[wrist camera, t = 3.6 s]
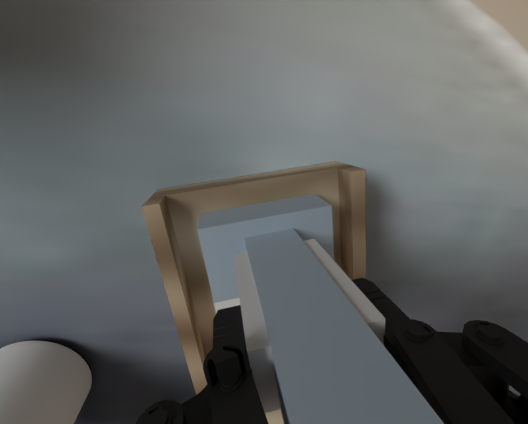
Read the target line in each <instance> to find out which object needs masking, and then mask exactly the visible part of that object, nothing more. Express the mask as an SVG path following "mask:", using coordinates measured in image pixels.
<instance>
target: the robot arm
mask: <svg viewBox="0 0 528 424" xmlns="http://www.w3.org/2000/svg"><path fill="white" fill-rule="evenodd" d="M303 242H304V243H305V244H306V246H307V247H308V248H309V250H310V251H311V252H312V253H313V255H314V256H315V257H316V259H317V260H318V261H319V262H320V264H321V265H322V266H323V268H324V269H325V270H326V272H327V273H328V274H329V275H330V277H331V278H332V279H333V281H334V282H335V283H336V284H337V286H338V287H339V288H340V290H341V291H342V292H343V294H344V295H345V296H346V297H347V299H348V300H349V301H350V303H351V304H352V305H353V306H354V308H355V309H356V310H357V312H358V313H359V314H360V316H361V317H362V318H363V319H364V321H365V322H366V323H367V325H368V326H369V327H370V328H371V330H372V331H373V332H374V334H375V335H376V336H377V338H378V339H379V340H380V341H381V343H382V344H383V345H384V347H385V348H386V349H387V350H388V352H389V353H390V354H391V356H392V357H393V358H394V360H395V361H396V362H397V363H398V365H399V366H400V367H401V369H402V370H403V371H404V372H405V374H406V375H407V376H408V378H409V379H410V380H411V382H412V383H413V384H414V385H415V387H416V388H417V389H418V391H419V392H420V393H421V394H422V396H423V397H424V398H425V400H426V401H427V402H428V403H429V405H430V406H431V407H432V409H433V410H434V411H435V413H436V414H437V415H438V416H439V418H440V419H441V420H442V422H443V423H444V424H528V343H527V342H526V341H524V340H522V339H521V338H519V337H518V336H516V335H514V334H513V333H511V332H510V331H508V330H506V329H505V328H503V327H501V326H499V325H497V324H494V323H490V322H487V321H480V320H474V321H469V322H467V323H466V324H464V329H463V333H453V332H436V331H435V330H434V329H433V328H432V327H431V326H429V325H427V324H425V323H423V322H421V321H417V320H411V319H409V318H408V317H407V316H406V315H405V314H404V313H403V312H402V311H401V310H400V309H399V308H398V307H397V306H396V305H395V304H394V303H393V302H392V301H391V300H390V299H389V298H388V297H386V295H385V294H384V293H383V292H382V291H380V289H379V288H378V287H377V286H376V285H375V284H374V283H373V282H371V281H369V280H367V279H365V278H363V277H362V278H358V279H353V280H351V279H350V278H349V277H348V276H347V275H346V274H345V273H344V271H343V270H342V269H341V268H340V267H339V266H338V265H337V264H336V262H335V261H334V260H333V259H332V258H331V257H330V256H329V255H328V253H327V252H326V251H325V250H324V249H323V248H322V247H321V246H320V245H319V243H318V242H317V241H316V240H315V239H310V240H305V241H303ZM233 255H234V262H235V269H236V277H237V284H238V291H239V298H240V305H238V306H233V307H229V308H224V309H220V310H218V311H217V313H216V315H215V317H214V319H213V349H212V350H211V351H210V352H209V353H208V354H207V356H206V358H205V359H204V363H203V371H204V374H205V378H206V382H207V385H206V387H205V388H204V389H203V390H202V391H201V392H200V393H198V394H197V395H196V396H194V397H193V398H191V399H189V400H187V401H186V402H184V403H182V404H181V405H180V403H178V402H176V401H175V400H163V401H160V402H157V403H155V404H154V405H152V406H151V407H149V408H148V409H146V411H145V412H144V413H143V414H142V415H141V416H140V417H139V419H138V421H137V422H136V424H268V421H267V418H266V415H265V413H268V412H272V411H275V410H279V409H281V408H280V401H279V395H278V388H277V382H276V375H275V368H274V362H273V355H272V349H271V344H270V340H269V336H268V332H267V328H266V324H265V320H264V316H263V312H262V308H261V304H260V300H259V296H258V292H257V288H256V284H255V280H254V277H253V273H252V269H251V265H250V261H249V257H248V253H247V252H243V253H238V254H233ZM509 385H510V386H512V387H513V388H514V389H515V390H517V391H518V392H519V393H521V395H520V396H518V395H515V394H514V393H512V392H511V391H510V390H509Z"/></svg>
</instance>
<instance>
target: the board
mask: <svg viewBox="0 0 528 424" xmlns="http://www.w3.org/2000/svg"><path fill="white" fill-rule="evenodd" d="M310 194H315V195H317V196H318V197H320V198H321V199H323V200H324V201H326V202H327V203H329V204H330V205H332V224H333V245H334V261H335V262H336V264H337V265H338V266H339V267H340V268H341V269H342V270H343V271H344V273H345V274H346V275H347V276H348V277H349V278H350V279H351V280H353V279H358V278H362V277H363V278H365V279H366V170H365V169H362V168H358V167H354V166H351V165H347V164H343V163H340V162H336V161H335V162H329V163H323V164H317V165H310V166H304V167H298V168H291V169H285V170H279V171H273V172H266V173H260V174H254V175H247V176H241V177H235V178H229V179H222V180H216V181H210V182H203V183H197V184H191V185H185V186H178V187H172V188H166V189H159V190H157V191H156V192H155V193H154V194H153V195H152V196H151V197H150V198H149V199H148V200H147V201H146V203H145V204H144V205H143V206H142V210H143V213H144V217H145V220H146V223H147V227H148V230H149V234H150V237H151V241H152V244H153V248H154V251H155V254H156V258H157V261H158V265H159V268H160V272H161V275H162V279H163V282H164V285H165V289H166V292H167V296H168V299H169V303H170V306H171V310H172V313H173V316H174V320H175V323H176V327H177V330H178V334H179V337H180V341H181V344H182V347H183V351H184V354H185V358H186V361H187V365H188V368H189V372H190V375H191V378H192V382H193V385H194V389H195V392H196V395H197V394H198V393H200V392H201V391H202V390H203V389H204V388H205V387H206V385H207V382H206V378H205V374H204V371H203V363H204V359H205V358H206V356H207V354H208V353H209V352H210V351H211V350H212V349H213V319H214V317H215V315H216V310H215V305H214V301H213V297H212V292H211V288H210V283H209V279H208V274H207V270H206V266H205V261H204V257H203V252H202V248H201V243H200V239H199V235H198V230H197V229H198V223H199V218H200V213H206V212H212V211H218V210H224V209H229V208H235V207H241V206H247V205H252V204H258V203H264V202H270V201H276V200H281V199H287V198H293V197H299V196H304V195H310ZM265 415H266V418H267V421H268V424H284V422H283V418H282V414H281V409H279V410H275V411H272V412H268V413H265Z"/></svg>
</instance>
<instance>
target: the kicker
mask: <svg viewBox="0 0 528 424" xmlns="http://www.w3.org/2000/svg"><path fill="white" fill-rule="evenodd" d="M197 230H198V235H199V239H200V243H201V248H202V252H203V257H204V261H205V266H206V270H207V274H208V279H209V283H210V288H211V292H212V297H213V301H214V305H215V310H216V313H217V311H218V310H220V309H224V308H229V307H233V306H238V305H240V298H239V291H238V284H237V277H236V269H235V262H234V255H233V254H238V253H243V252H247V253H248V257H249V261H250V265H251V269H252V273H253V277H254V280H255V284H256V288H257V292H258V296H259V300H260V304H261V308H262V312H263V316H264V320H265V324H266V328H267V332H268V336H269V340H270V344H271V349H272V355H273V362H274V368H275V375H276V382H277V388H278V395H279V401H280V408H281V414H282V418H283V422H284V424H444V423H443V422H442V420H441V419H440V418H439V416H438V415H437V414H436V413H435V411H434V410H433V409H432V407H431V406H430V405H429V403H428V402H427V401H426V400H425V398H424V397H423V396H422V394H421V393H420V392H419V391H418V389H417V388H416V387H415V385H414V384H413V383H412V382H411V380H410V379H409V378H408V376H407V375H406V374H405V372H404V371H403V370H402V369H401V367H400V366H399V365H398V363H397V362H396V361H395V360H394V358H393V357H392V356H391V354H390V353H389V352H388V350H387V349H386V348H385V347H384V345H383V344H382V343H381V341H380V340H379V339H378V338H377V336H376V335H375V334H374V332H373V331H372V330H371V328H370V327H369V326H368V325H367V323H366V322H365V321H364V319H363V318H362V317H361V316H360V314H359V313H358V312H357V310H356V309H355V308H354V306H353V305H352V304H351V303H350V301H349V300H348V299H347V297H346V296H345V295H344V294H343V292H342V291H341V290H340V288H339V287H338V286H337V284H336V283H335V282H334V281H333V279H332V278H331V277H330V275H329V274H328V273H327V272H326V270H325V269H324V268H323V266H322V265H321V264H320V262H319V261H318V260H317V259H316V257H315V256H314V255H313V253H312V252H311V251H310V250H309V248H308V247H307V246H306V244H305V243H304V242H303V241H305V240H310V239H315V240H316V241H317V242H318V243H319V245H320V246H321V247H322V248H323V249H324V250H325V251H326V252H327V253H328V255H329V256H330V257H331V258H332V259H333V260H334V245H333V224H332V205H330V204H329V203H327V202H326V201H324V200H323V199H321V198H320V197H318V196H317V195H315V194H310V195H304V196H299V197H293V198H287V199H281V200H276V201H270V202H264V203H258V204H252V205H247V206H241V207H235V208H229V209H224V210H218V211H212V212H206V213H200V218H199V223H198V229H197Z"/></svg>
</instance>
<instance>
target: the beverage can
mask: <svg viewBox="0 0 528 424" xmlns="http://www.w3.org/2000/svg"><path fill="white" fill-rule="evenodd" d="M91 385H92V375H91V371H90V369H89V366H88V365H87V363H86V362H85V360H84V359H83V358H82V357H81V356H80V355H79V354H77V353H76V352H74V351H73V350H71V349H69V348H67V347H65V346H63V345H60V344H57V343H53V342H48V341H22V342H17V343H13V344H10V345H7V346H5V347H2V348H0V424H74V422H75V420H76V418H77V416H78V414H79V412H80V410H81V408H82V406H83V404H84V402H85V400H86V397H87V395H88V393H89V391H90V388H91Z"/></svg>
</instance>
